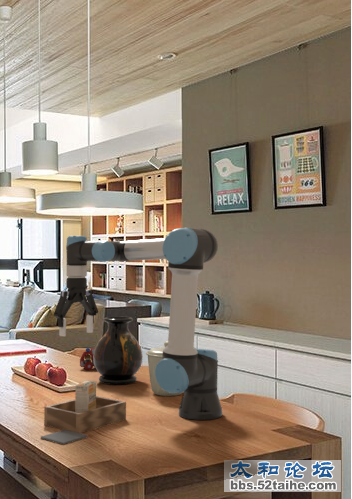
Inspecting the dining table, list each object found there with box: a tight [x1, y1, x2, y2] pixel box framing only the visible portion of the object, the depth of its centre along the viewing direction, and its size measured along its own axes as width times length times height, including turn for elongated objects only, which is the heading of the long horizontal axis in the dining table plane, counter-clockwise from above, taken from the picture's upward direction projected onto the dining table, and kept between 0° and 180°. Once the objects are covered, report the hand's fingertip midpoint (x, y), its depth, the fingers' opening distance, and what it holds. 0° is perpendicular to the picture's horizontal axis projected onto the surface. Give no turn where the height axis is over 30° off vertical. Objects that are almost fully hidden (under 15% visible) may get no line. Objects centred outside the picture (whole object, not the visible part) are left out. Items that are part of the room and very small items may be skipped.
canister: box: [145, 340, 184, 397], centre depth 262 cm, size 18×18×21 cm
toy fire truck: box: [79, 347, 95, 371], centre depth 316 cm, size 7×12×10 cm, turn 110°
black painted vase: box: [93, 316, 143, 386], centre depth 285 cm, size 22×22×28 cm
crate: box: [43, 395, 127, 434], centre depth 217 cm, size 22×16×6 cm
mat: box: [40, 429, 89, 445], centre depth 198 cm, size 10×10×1 cm
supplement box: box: [74, 380, 97, 413], centre depth 217 cm, size 8×5×13 cm, turn 168°
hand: (76, 334), depth 242 cm, fingers open, 13 cm apart
